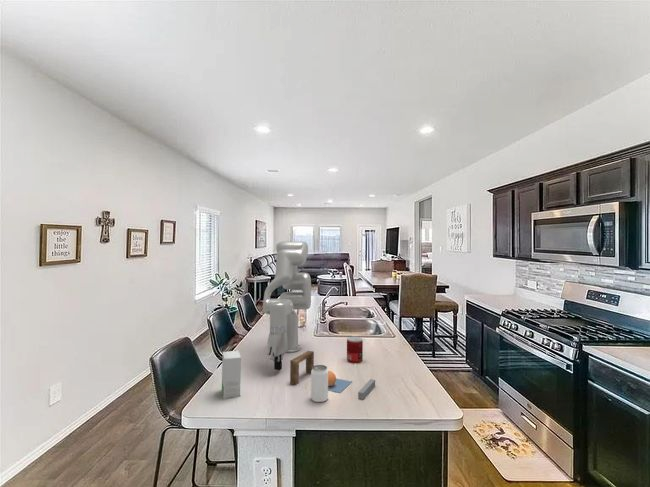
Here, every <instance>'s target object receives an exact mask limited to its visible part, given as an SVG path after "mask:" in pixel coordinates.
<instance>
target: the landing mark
mask: <svg viewBox="0 0 650 487" xmlns="http://www.w3.org/2000/svg"><path fill="white" fill-rule="evenodd" d="M351 383H353V381H352V380H351V381H350V380H345V379H341V378H337V377H336V382H335V384H334V385H332V386H329V387H328V392H334V393H337V394H341V393H342V392H343V391H344V390H345V389H347V388H348V386H349V385H351Z"/></svg>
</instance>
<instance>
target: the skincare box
mask: <svg viewBox="0 0 650 487" xmlns="http://www.w3.org/2000/svg"><path fill="white" fill-rule="evenodd" d="M221 365H222V367H221V393H222V397H223V399H224V400H225V399H231V398H237V397H240V396H241V377H242V375H241V371H242V370H241V369H242V357H241V353H240V352H239V350H230V351H222V364H221Z"/></svg>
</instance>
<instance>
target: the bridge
mask: <svg viewBox="0 0 650 487" xmlns="http://www.w3.org/2000/svg"><path fill="white" fill-rule="evenodd" d="M314 351H315V350H314ZM314 351H313V350H307V351H305V352H303V353H301V354H299V355H297V356H296V357H294V358H293V359H291V360H290V361H289V366H290V367H289V368H290V369H289V376H290V377H289V382H290V384H291V385H293V386H294V385H295V386H297V385H299V383H300V382H299V380H300V369H299V368H300V363H301V362H303V361H304V360H305V374H309V375H311V371H312V367H313V366H315V365H314V364H315V363H314V361H315V360H314V359H315V355H314V353H315V352H314Z"/></svg>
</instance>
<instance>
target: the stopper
mask: <svg viewBox="0 0 650 487" xmlns="http://www.w3.org/2000/svg"><path fill="white" fill-rule="evenodd" d="M375 387H376V379H374V378H373V379H372V378H370V379H369V380H368V381H367V382H366V383H365V384H364V385H363V386H362V387H361V389H359V391H358V393H357V399H359V400H364V399H365V398H366V397H367V396H368V395H369V393H371V391H372V390H374V388H375Z"/></svg>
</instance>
